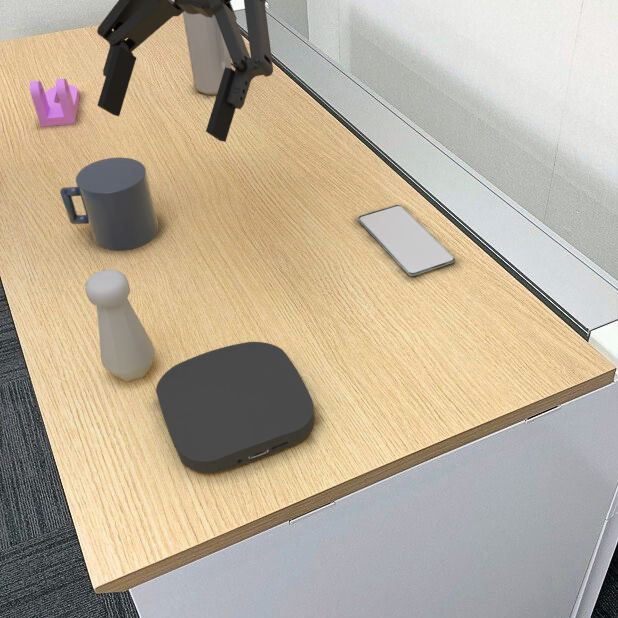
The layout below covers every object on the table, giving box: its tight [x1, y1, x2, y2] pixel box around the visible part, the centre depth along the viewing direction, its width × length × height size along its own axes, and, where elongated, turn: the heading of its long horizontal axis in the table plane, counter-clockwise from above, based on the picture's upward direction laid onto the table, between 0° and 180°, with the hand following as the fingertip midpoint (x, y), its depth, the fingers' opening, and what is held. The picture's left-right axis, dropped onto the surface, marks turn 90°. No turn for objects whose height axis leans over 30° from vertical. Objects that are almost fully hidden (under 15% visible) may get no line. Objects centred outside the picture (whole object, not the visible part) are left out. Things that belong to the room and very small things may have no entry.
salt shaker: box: [84, 268, 156, 382], centre depth 79 cm, size 6×6×13 cm
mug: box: [59, 156, 160, 251], centre depth 100 cm, size 12×9×9 cm
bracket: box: [29, 78, 81, 128], centre depth 128 cm, size 13×6×7 cm, turn 10°
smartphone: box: [358, 204, 456, 277], centre depth 100 cm, size 7×1×15 cm
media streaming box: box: [155, 341, 315, 474], centre depth 77 cm, size 15×15×3 cm
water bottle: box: [182, 11, 233, 96], centre depth 126 cm, size 9×8×25 cm
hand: (160, 124), depth 76 cm, fingers open, 13 cm apart
